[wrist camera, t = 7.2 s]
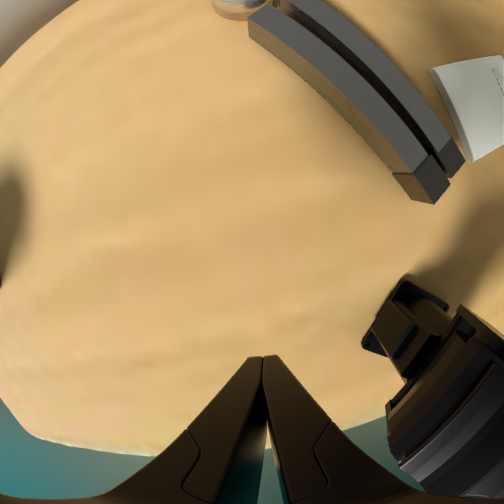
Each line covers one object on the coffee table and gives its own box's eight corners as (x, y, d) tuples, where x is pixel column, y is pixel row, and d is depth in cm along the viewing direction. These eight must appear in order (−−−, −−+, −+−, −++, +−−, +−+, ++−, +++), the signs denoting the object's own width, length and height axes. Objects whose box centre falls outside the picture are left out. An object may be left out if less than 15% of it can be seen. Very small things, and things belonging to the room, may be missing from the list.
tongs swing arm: (196, 6, 14) (187, -17, 11) (241, -25, 13) (239, -48, 10) (411, 199, 17) (435, 204, 14) (445, 159, 16) (471, 159, 13)
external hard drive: (423, 72, 15) (493, 57, 13) (463, 162, 17) (523, 128, 15) (433, 66, 14) (502, 53, 12) (475, 162, 15) (533, 128, 14)
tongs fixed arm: (277, 19, 14) (279, -4, 11) (295, 7, 14) (300, -16, 11) (427, 176, 17) (452, 178, 14) (441, 161, 17) (466, 160, 14)
